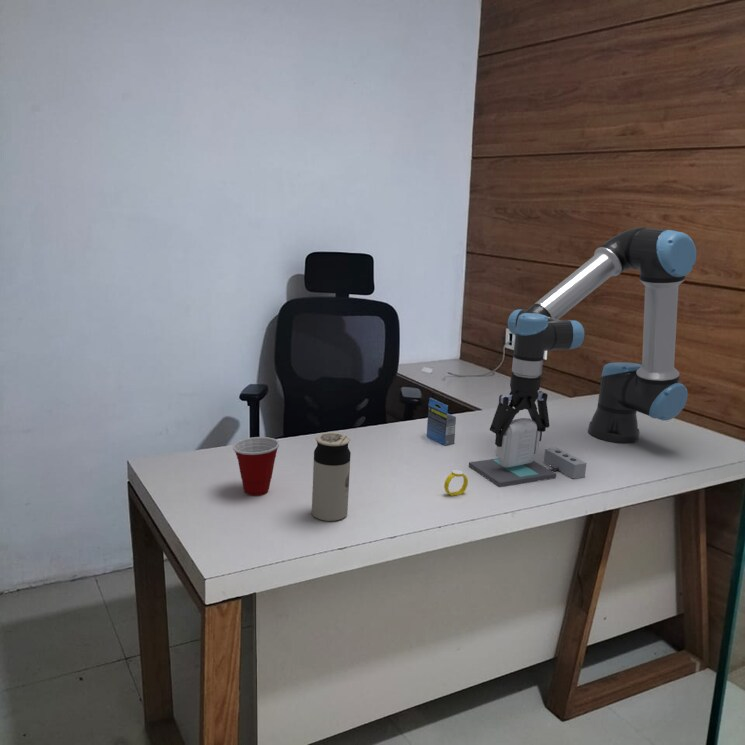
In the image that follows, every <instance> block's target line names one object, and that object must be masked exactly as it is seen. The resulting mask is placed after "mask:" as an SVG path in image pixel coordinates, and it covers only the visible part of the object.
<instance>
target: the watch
mask: <svg viewBox="0 0 745 745" xmlns="http://www.w3.org/2000/svg"><path fill="white" fill-rule="evenodd" d="M455 477H459V478H460V477H462V478H463V484H462V486H461V488H460V489H459V490H458V491H457V490H456V491H452V492H450V489H449V486H450V482H452V479H454V478H455ZM468 481H469V479H468V477H467V476H466V475H465V473H464V471H462V470H459V469H453V470H451V473H450V474H449V475H447V477H446V479H445V480H444V486H443V487H444V491H445V493H447V494H448V495H449V496H451V497H453V496H454V497H455V496H460V495H462V494H463V493H464V492H465V491H466V490H467V488H468V485H469V482H468Z"/></svg>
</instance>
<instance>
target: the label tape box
mask: <svg viewBox="0 0 745 745" xmlns="http://www.w3.org/2000/svg"><path fill="white" fill-rule="evenodd" d="M428 400H429V401H428V406H427V409H428V411H427V424H426V437H427V438H429V439H431V440H433V441H435V442H437V443H439V444H441V445H444V446H450V445H453V444H455V440H456V424H457V422H456V421H457V416H455V415H452V414H450V413H448V410H449V405H447V404H445V403H443V402H440V401H439V400H437V399H435V398H432V397H429V399H428ZM436 405H438V406H439V407H438V406H436Z"/></svg>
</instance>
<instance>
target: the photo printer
mask: <svg viewBox="0 0 745 745" xmlns="http://www.w3.org/2000/svg"><path fill="white" fill-rule="evenodd" d="M536 433H537V424H536V422H535V421H533V420H532V419H531V418H527V417H520V418H515V419H513V420H512V422H511V424H510V425H509V427H508V429H507V430H506V432H505V435H506V436H507V439H506V448H505V456H504V459H503V460H502V459H500V458H499V463H500V465H501V466H503V467H513V466H518V465H523V464H528V463H531V462H532V461H534V456H535V454H534V449H535V441H536Z"/></svg>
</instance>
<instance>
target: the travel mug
mask: <svg viewBox="0 0 745 745" xmlns="http://www.w3.org/2000/svg"><path fill="white" fill-rule="evenodd" d="M315 441H316V445H317V446H316V448H314V451H313V464H312V465H313V470H312V491H311V492H312V494H311V514H312V516H313V517H315V518H316V519H319V520H321V521H326V522H334V521H335V522H336V521H339V520H342V519H344V518H346V517H347V516H348V512H349V511H348V508H349V492H350V491H349V490H350V488H349V487H350V472H351V471H350V470H351V449H349V443H350V442H351V438H350V437H349V436H348V435H347V434H344V433H339V432H333V431H332V432H323V433H319V434H317V436H316V437H315Z"/></svg>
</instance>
